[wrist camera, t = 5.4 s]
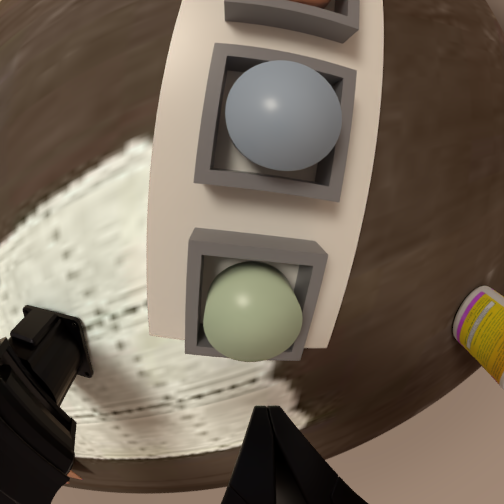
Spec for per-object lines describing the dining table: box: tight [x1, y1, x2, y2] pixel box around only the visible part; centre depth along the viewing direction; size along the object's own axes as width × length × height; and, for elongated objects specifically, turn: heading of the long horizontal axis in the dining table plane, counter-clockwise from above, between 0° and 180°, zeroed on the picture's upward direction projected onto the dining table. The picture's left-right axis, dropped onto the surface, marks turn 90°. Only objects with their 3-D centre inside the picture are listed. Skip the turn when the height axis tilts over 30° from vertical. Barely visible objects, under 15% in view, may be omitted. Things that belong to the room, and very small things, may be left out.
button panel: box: [147, 0, 384, 361], centre depth 13 cm, size 29×13×4 cm, turn 172°
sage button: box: [203, 261, 303, 362], centre depth 15 cm, size 5×5×2 cm
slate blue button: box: [225, 60, 342, 171], centre depth 11 cm, size 5×5×2 cm
